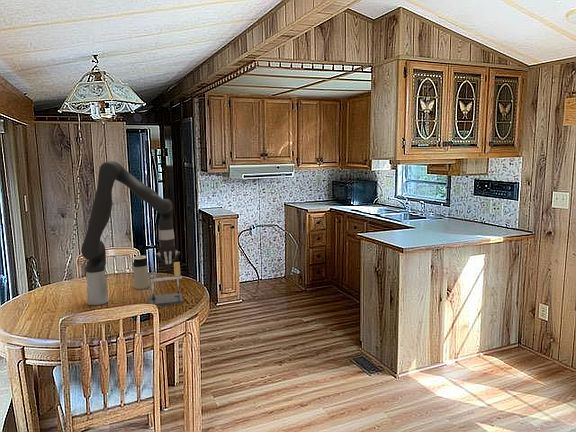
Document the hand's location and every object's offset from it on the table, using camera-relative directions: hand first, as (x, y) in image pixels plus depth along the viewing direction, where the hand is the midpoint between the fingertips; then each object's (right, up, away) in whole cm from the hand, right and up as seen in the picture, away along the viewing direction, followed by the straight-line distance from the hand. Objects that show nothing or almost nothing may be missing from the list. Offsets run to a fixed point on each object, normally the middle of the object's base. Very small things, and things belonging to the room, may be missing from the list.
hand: (169, 270), depth 232 cm
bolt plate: (-2, -16, +2) cm, 16 cm away
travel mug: (-23, -13, +27) cm, 38 cm away
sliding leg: (+4, -14, +3) cm, 15 cm away
